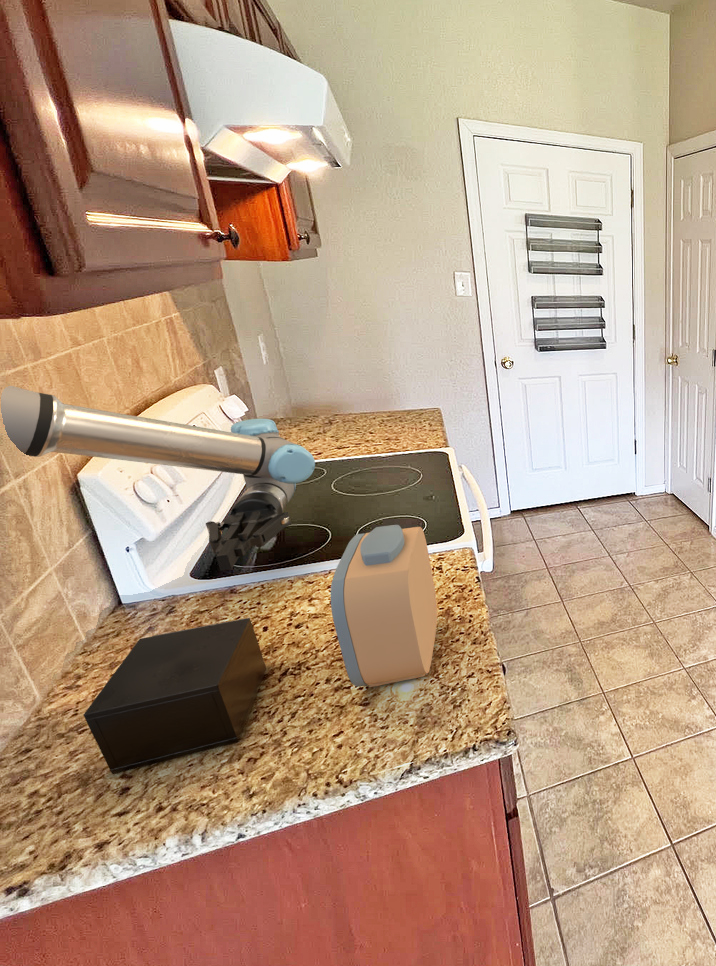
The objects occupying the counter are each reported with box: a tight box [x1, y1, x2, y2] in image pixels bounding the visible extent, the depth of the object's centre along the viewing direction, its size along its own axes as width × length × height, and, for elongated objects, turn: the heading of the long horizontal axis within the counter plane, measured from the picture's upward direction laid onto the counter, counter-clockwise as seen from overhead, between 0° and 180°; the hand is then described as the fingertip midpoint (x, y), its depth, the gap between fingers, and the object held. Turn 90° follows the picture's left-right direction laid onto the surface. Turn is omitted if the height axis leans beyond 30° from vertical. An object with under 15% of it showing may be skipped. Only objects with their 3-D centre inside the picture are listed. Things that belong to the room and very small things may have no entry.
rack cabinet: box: [83, 617, 267, 775], centre depth 78 cm, size 16×13×10 cm
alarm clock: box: [330, 524, 438, 688], centre depth 88 cm, size 21×10×22 cm, turn 20°
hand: (223, 562), depth 95 cm, fingers closed
